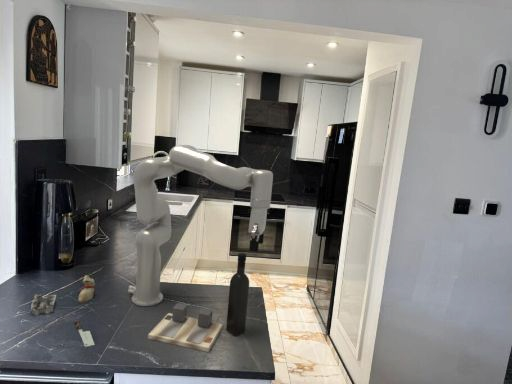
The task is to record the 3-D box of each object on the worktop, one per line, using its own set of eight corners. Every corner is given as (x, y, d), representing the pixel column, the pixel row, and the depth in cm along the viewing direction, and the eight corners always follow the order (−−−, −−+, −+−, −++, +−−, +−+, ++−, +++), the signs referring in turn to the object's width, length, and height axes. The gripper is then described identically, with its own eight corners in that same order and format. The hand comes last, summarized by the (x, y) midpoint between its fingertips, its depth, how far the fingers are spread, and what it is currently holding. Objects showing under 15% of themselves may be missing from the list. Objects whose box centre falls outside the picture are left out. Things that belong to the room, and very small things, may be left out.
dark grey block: (172, 320, 124) (172, 308, 123) (176, 315, 128) (177, 302, 127) (182, 322, 123) (183, 310, 123) (186, 317, 127) (187, 304, 126)
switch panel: (148, 338, 116) (148, 333, 115) (168, 316, 130) (168, 312, 130) (208, 352, 111) (208, 347, 111) (222, 327, 126) (222, 323, 126)
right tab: (197, 325, 122) (198, 313, 121) (201, 320, 126) (202, 307, 125) (207, 328, 121) (208, 315, 121) (211, 322, 125) (212, 310, 124)
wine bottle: (224, 330, 125) (231, 253, 120) (236, 325, 129) (242, 250, 124) (234, 337, 121) (241, 258, 116) (246, 332, 125) (253, 255, 120)
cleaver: (100, 342, 111) (84, 344, 108) (99, 346, 111) (83, 348, 108) (89, 318, 124) (74, 319, 120) (88, 321, 124) (73, 323, 121)
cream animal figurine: (99, 296, 140) (99, 274, 138) (80, 303, 133) (80, 280, 132) (92, 292, 143) (92, 270, 141) (73, 298, 136) (73, 275, 135)
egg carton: (35, 302, 132) (35, 293, 131) (57, 300, 135) (57, 291, 134) (28, 316, 122) (28, 306, 121) (52, 314, 125) (52, 304, 124)
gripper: (255, 198, 134) (251, 239, 137) (245, 206, 117) (241, 252, 120) (273, 200, 132) (269, 241, 135) (266, 209, 116) (261, 256, 119)
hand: (256, 247), depth 128 cm, fingers open, 9 cm apart
